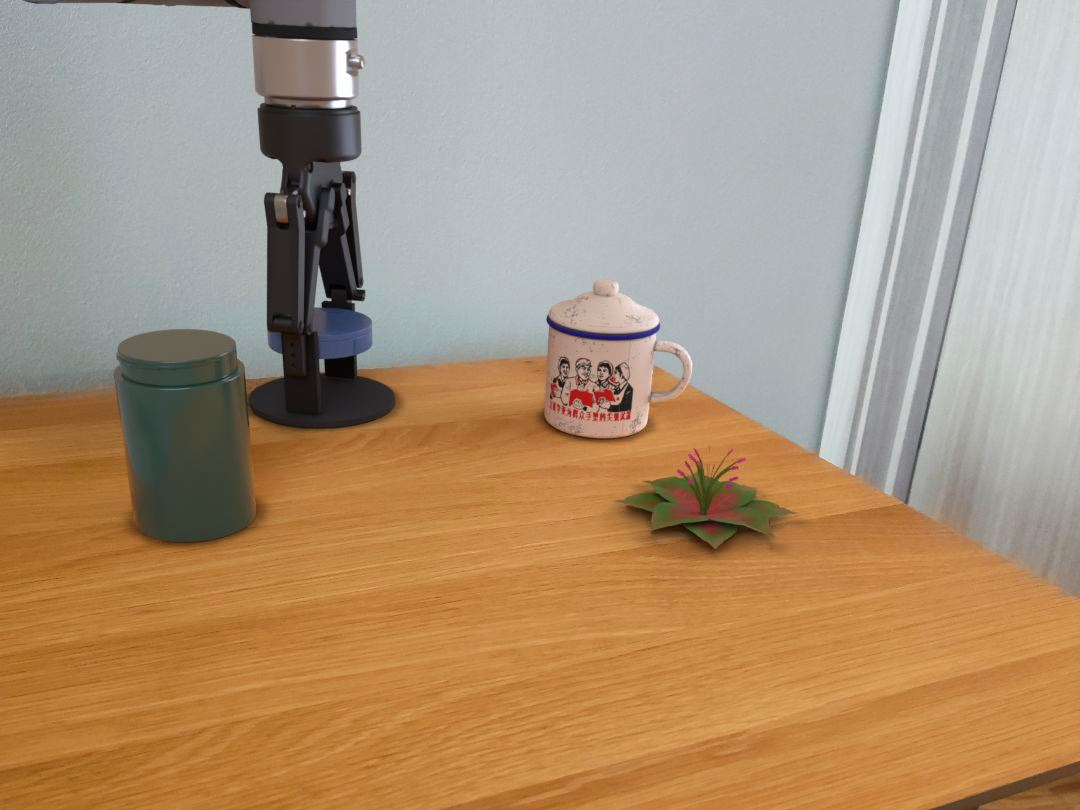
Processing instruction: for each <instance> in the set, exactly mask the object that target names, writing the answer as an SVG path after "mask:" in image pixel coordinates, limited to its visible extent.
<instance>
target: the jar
mask: <svg viewBox="0 0 1080 810" xmlns="http://www.w3.org/2000/svg"><path fill="white" fill-rule="evenodd" d="M116 350H117V352H115V355H116V361H118V363H119V364H118V365H117V366H115V368H114V370H113V380H114V387H115V394H116V401H117V408H118V417H119V423H120V431H121V436H122V443H123V451H124V458H125V459H124V460H125V465H126V472H127V473H126V474H127V481H128V487H129V495H130V501H131V509H132V516H133V522H134V526H135V527H136V529H137V530H138V531H139V532H140V533H141V534H143V535H145V536H147V537H149V538H151V539H154V540H159V541H164V542H171V543H197V542H206V541H212V540H217V539H222V538H224V537H227V536H231V535H233V534H236V533H238V532H240V531H242V530H244V529H245V528H247V527H248V526H249V525H250V524H252V522H253V521H254V520H255V518H256V515H257V504H256V503H257V502H256V491H255V477H254V464H253V452H252V442H251V441H252V440H251V429H250V417H249V402H248V394H247V393H248V392H247V379H246V368H245V364H244V363H243V362H242V361H241V359H239V358H238V352H237V342H236V340H235V339H234V338H233V337H231V336H230V335H228V334H226V333H225V334H224V333H222V332H217V331H213V330H209V329H208V330H207V329H198V328H197V329H196V328H173V329H161V330H153V331H147V332H143V333H139V334H136V335H133V336H130V337H128V338H125V339H124V340H122V341H121V342H119V344H118V345H117V349H116Z"/></svg>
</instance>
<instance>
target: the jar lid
mask: <svg viewBox="0 0 1080 810" xmlns="http://www.w3.org/2000/svg"><path fill="white" fill-rule="evenodd" d="M289 316H290V315H289ZM312 327H313V328H312V331H314V332H318V347H319V360H324V359H334V358H343V357H349V356H353V355H360V354H363V353H365V352H367V351H368V350H370V349H371V348H372V346H373V320H372V319H371V317H369V316H368V315H367V314H364V313H362V312H359V311H356V310H355V311H351V310H346V309H339V308H322V306H320V307H314V316H313V326H312ZM266 334H267V345H268V347H269V348H270V349H271V351H273V352H275V353H277V354H279V355H282V343H281V333H277V332H269V331H268V329H267V328H266Z"/></svg>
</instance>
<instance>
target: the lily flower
mask: <svg viewBox="0 0 1080 810" xmlns="http://www.w3.org/2000/svg"><path fill="white" fill-rule="evenodd" d="M710 447H711V446H708V451H711V450H710ZM693 450H694V454H695V455H696V457H697V458H698V460H697V458H696V457H694V455H692V454H690V453H688V454H687V456H688V458H689V459H690V460H691V461H692V462H694V463H695V465H696V472H695V473H694V472H693V470H692V467H691V465H690V464H689V462H688V461H687V460H685V461H684V465H685V467H686V468H687V469H688V470H689V471H690V473H691V474H690V475H686V474H685V472H683V471H682V470H681V469H680V468H678V469H676V473H677V474H678V475H680V476H681V477H678V476H674V475H673V476H667V477H662V478H658V479H654V480H642V482H643V483H645V484H648V485H650V486H651V488H652V489H653V490H654V492H638V493H635V494H631V495H629V496H627V497H625V498H624V499H618V500H613V502H614V503H620V504H622V505H628V506H631V507H633V508H634V507H635V508H639V509H641V510H645V511H648V512H651V519H650V522H651V525H650V526H649V528H648V530H647V532H651V531H654V530H659V529H664V528H667V527H672V526H677V525H681V524H683V526H684V527H685V528H686V530H689V531H691V532H692V533H693V534H695V536H697V537H699V539H701V540H702V541H704V542H706V543H708V544H709V545H710V546H711V547H712V548H713V549H714V550H716V549H717V548H718V547H719V546H720V545H722V544H723V543H724V541H727V540H729V539H730V538H731V537H732V536H733V535H735V534H736V533H737V530H738V527H737V525H738V526H744V527H747V528H749V529H751V530H754V531H757V532H759V533H762V534H764V535H767V536H769V537H771V538H773V539H775V540H777V537H776V535H775V534H774V531H773V528H772V526H770V520H769V519H773V518H778V517H783V516H788V515H796V514H799V512H796V511H792V510H791V509H788V508H785V507H781V506H780V505H779V504H777V503H774V502H772V501H768V500H763V499H754V498H755V497H757V493H758V490H757V489H758V487H755V486H754V487H752V486H749V485H745V484H740V483H738V482H735V481H737V480H739V476H733V477H731V478H728V480H724V481H719V480H720V478H721V477H722V476H724V475H725V474H726V473H728V472H730V471H731V470H732V471H734V470H739V466H738V465H736V464H740V463H742V462H746V457H742V458H739V459H736V461H735V462H733V463H731V464H730V465H729V466H727V467H725V468H724V469H723V470H722V471H720V472H719V473H718V471H719V469H720V468H721V466H722V465H723V463H724V462H725V460H726V458H727V457H728V456H730V455H731V453H733V452H734V448H732V449H730V450H729V451H728V452H727V454H726V455H725V456H724V458H723V459H722V460H721V462H720V464H718V467H717V468H716V470H715V466H716V464H713V467H712V470H711V473H710V475H709V465H706V474H707V475H705V468H704V466H703V461H702V459H701V457H700V452H698V450H697V448H693ZM714 470H715V471H714ZM713 472H714V473H713ZM717 473H718V474H717ZM716 474H717V475H716Z"/></svg>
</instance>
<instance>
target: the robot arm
mask: <svg viewBox="0 0 1080 810" xmlns="http://www.w3.org/2000/svg"><path fill="white" fill-rule="evenodd" d="M22 1H23V2H27V3H30V4H35V5H36V4H37V5H56V4H125V5H130V4H131V5H151V6H166V7H176V6H186V7H187V6H189V7H215V8H221V7H222V8H237V9H243V10H244V9H245V10H249V13H250V14H249V15H250V23H251V33H252V35H251V42H252V44H251V45H252V58H253V75H254V77H253V78H254V91H255V92H256V94H257V95H258V96H260V97H263V100H264V101H263V102H262V103H260V104H259V107H257V109H256V110H257V122H258V123H257V125H258V139H259V149H260V152H261V154H262V155H263V156H264V157H266V158H268V159H271V160H278V161H279V162H280V164H281V165H282V168H281V182H280V188H279V192H270V191H268V192H265V194H264V197H263V205H264V213H265V220H266V330H267V329H268V331H269V332H277V333H281V343H282V354H281V356H282V370H283V371H282V372H283V378H284V387H285V402H286V411H291V412H301V413H310V414H319V413H320V412H321V411H322V406H321V386H320V373H321V369H320V359H319V347H318V332H314V331H312V328H313V327H312V326H313V316H314V308H315V304H316V295H317V286H318V285H317V284H318V275H319V273H320V277H321V281H322V286H323V290H324V295H325V297H326V299H330V300H323V301H322V302H321V306H320V307H321V308H339V309H346V310H351V311H356V303H355V302H364V301H365V299H366V289H362V288H363V286H364V273H363V264H362V253H361V252H362V251H361V242H360V232H359V230H360V229H359V222H358V210H357V200H356V199H357V176H356V172H355V171H354V170H353V171H352V170H342V166H341V163H344V162H345V163H346V162H352V161H354V160H357V159H358V158H359V157H360V156H361V154H362V120H361V118H362V117H361V111H360V110H359V109H358V107H357V105H353V104H352V100H356V99H357V97H358V96H359V95H360V79H359V78H360V75H359V72H360V71H359V70H363V69H364V68H365V66H366V60H365V57H364V56H363V55H361V54H359V53H358V52H359V41H358V26H357V0H22ZM354 301H355V302H354ZM289 315H290V316H289ZM357 355H358V354H357ZM357 355H353V356H349V357H343V358H334V359H323V365H324V367H323V368H324V373H325V376H327V377H337V378H347V379H355V378H356V377H357V376H358V356H357Z"/></svg>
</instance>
